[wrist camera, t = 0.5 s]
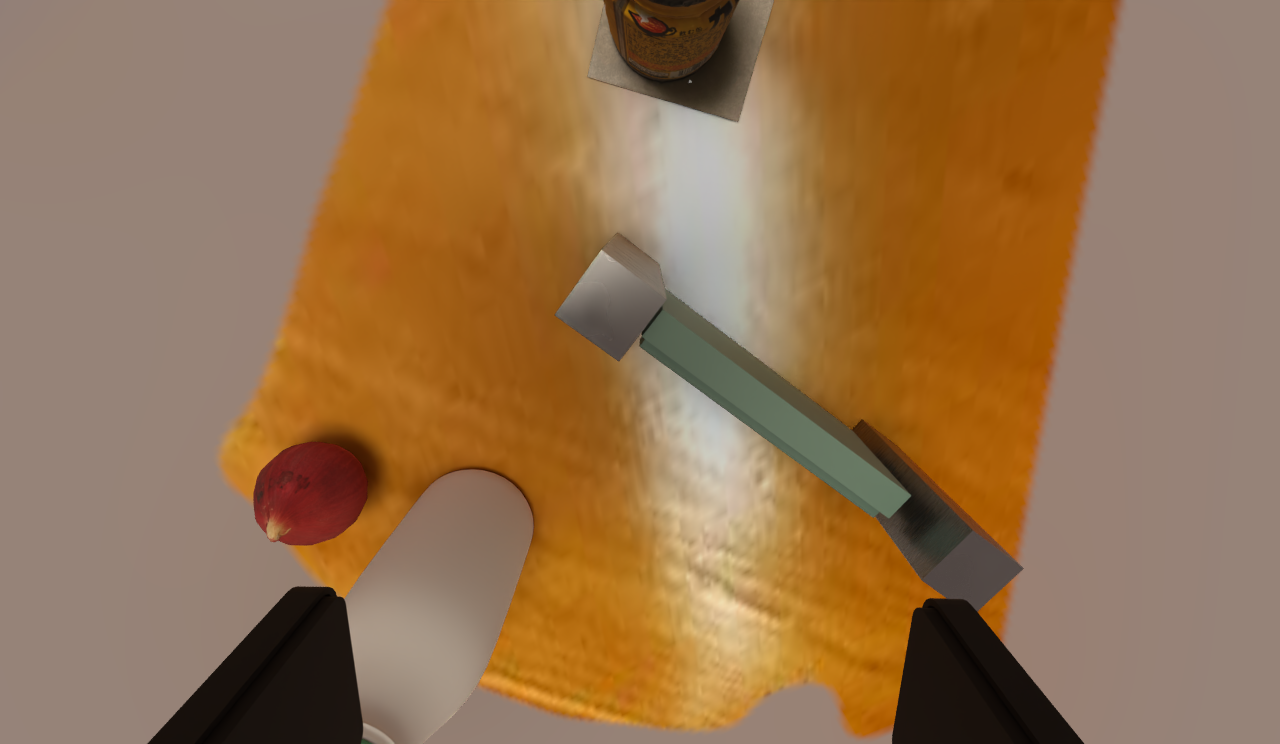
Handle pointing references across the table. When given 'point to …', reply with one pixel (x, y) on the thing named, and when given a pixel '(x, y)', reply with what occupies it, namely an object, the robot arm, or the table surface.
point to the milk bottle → (436, 604)
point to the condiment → (682, 50)
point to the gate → (770, 406)
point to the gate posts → (929, 520)
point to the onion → (309, 493)
